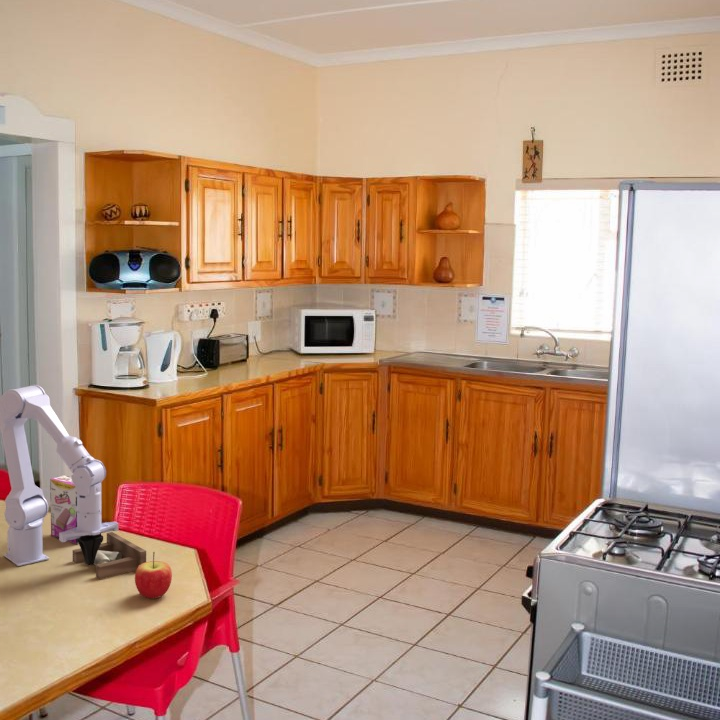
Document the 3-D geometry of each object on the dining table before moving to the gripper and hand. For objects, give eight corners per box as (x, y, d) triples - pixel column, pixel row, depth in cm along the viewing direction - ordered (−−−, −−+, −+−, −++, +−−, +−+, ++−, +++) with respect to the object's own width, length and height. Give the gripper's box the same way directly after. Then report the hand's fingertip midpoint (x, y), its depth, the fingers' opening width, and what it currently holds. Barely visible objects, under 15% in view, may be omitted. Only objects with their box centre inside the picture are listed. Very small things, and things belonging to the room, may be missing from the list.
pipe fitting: (108, 575, 209) (121, 563, 216) (108, 560, 208) (121, 549, 215) (79, 571, 211) (93, 560, 217) (78, 556, 210) (92, 545, 216)
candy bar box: (49, 536, 233) (48, 478, 231) (64, 532, 237) (64, 474, 235) (76, 545, 227) (76, 485, 225) (91, 540, 231) (91, 481, 229)
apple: (172, 588, 201) (172, 547, 200) (170, 603, 193) (171, 560, 191) (136, 589, 200) (136, 548, 198) (133, 604, 191) (133, 561, 190)
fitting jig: (70, 559, 217) (69, 540, 216) (112, 550, 224) (111, 531, 224) (102, 581, 204) (102, 561, 203) (146, 570, 211) (146, 550, 211)
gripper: (67, 520, 201) (68, 575, 203) (124, 509, 211) (124, 561, 213) (55, 512, 206) (55, 566, 208) (110, 502, 216) (111, 554, 218)
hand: (89, 563), depth 211 cm, fingers closed
